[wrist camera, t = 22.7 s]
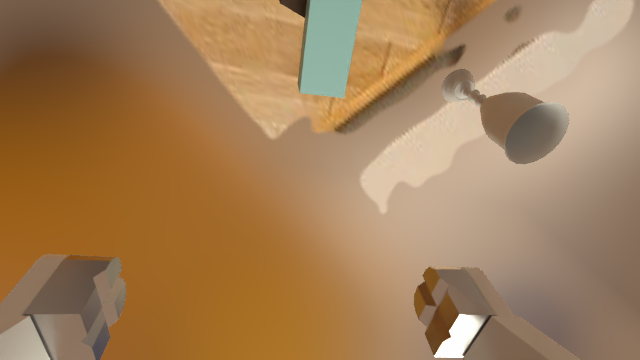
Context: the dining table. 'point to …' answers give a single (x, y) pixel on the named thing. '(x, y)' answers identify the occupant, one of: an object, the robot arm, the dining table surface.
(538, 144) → the chalice
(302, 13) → the coffee box
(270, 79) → the dining table surface
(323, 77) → the mint green bar
